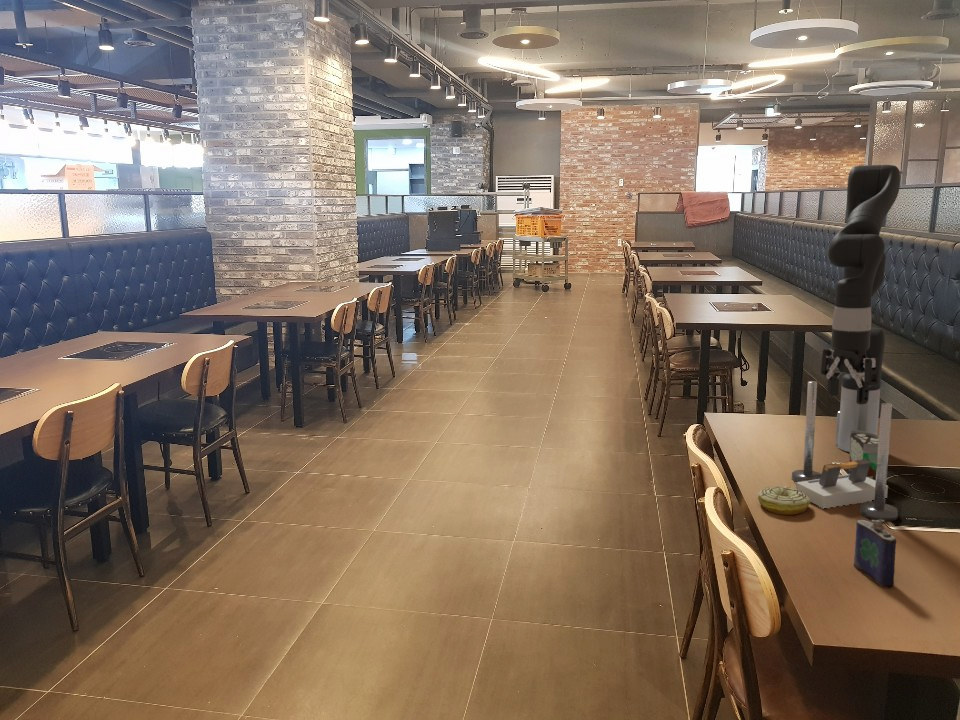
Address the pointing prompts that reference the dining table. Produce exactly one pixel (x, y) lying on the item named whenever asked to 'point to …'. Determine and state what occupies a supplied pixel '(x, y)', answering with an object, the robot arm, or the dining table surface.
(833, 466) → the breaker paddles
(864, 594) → the dining table surface
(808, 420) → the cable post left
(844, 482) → the switch panel
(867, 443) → the food container
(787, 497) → the decorated donut
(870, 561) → the flask
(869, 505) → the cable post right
